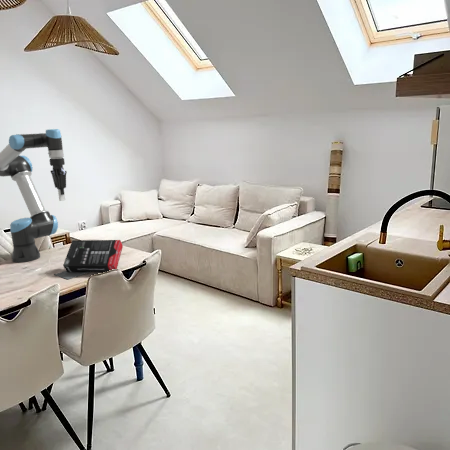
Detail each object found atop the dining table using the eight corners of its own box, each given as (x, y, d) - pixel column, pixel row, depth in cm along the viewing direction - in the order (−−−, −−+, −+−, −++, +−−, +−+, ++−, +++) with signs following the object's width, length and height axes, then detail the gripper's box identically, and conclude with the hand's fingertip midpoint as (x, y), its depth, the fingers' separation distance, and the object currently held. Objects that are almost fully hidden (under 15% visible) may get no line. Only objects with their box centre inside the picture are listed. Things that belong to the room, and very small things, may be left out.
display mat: (54, 274, 219) (54, 274, 219) (89, 263, 235) (89, 263, 235) (67, 279, 211) (67, 279, 211) (103, 267, 227) (103, 267, 227)
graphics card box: (66, 273, 221) (117, 273, 219) (61, 266, 216) (113, 265, 214) (75, 246, 232) (123, 246, 230) (70, 239, 227) (120, 238, 224)
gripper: (44, 158, 233) (50, 200, 239) (56, 158, 225) (62, 202, 231) (56, 157, 239) (62, 198, 244) (69, 157, 231) (74, 200, 236)
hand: (62, 200), depth 238 cm, fingers closed
